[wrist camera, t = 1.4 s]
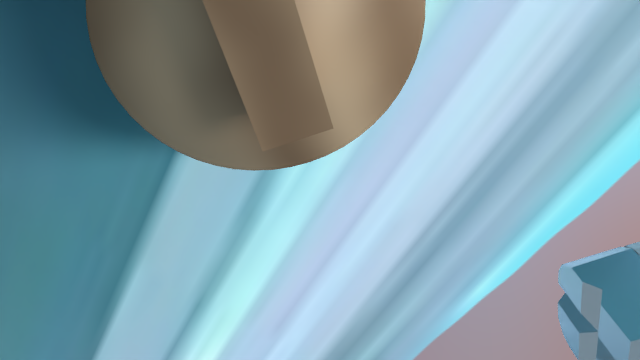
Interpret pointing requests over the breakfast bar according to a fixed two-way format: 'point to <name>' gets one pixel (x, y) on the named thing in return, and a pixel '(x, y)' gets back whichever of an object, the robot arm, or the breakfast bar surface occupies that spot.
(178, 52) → the walnut lid
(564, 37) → the breakfast bar surface
